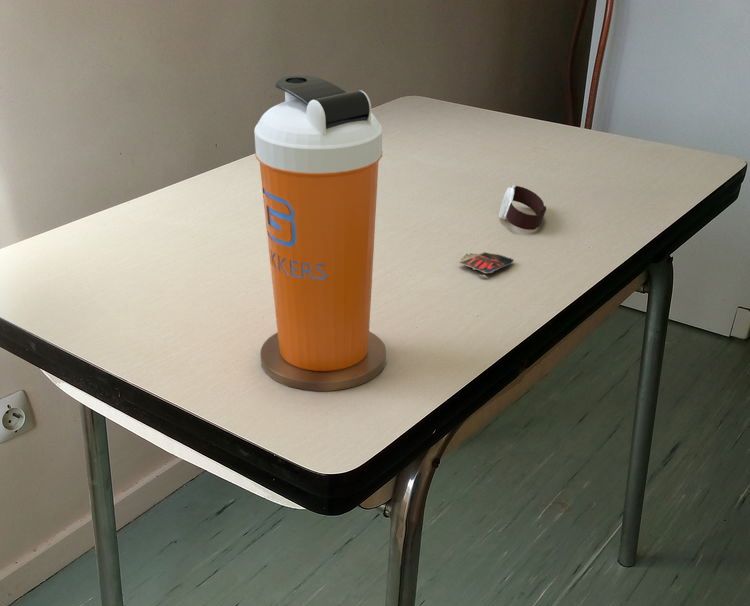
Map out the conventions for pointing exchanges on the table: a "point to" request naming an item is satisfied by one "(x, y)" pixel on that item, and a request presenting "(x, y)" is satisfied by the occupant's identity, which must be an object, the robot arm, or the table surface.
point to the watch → (517, 216)
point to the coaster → (323, 379)
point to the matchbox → (485, 262)
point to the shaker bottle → (320, 219)
